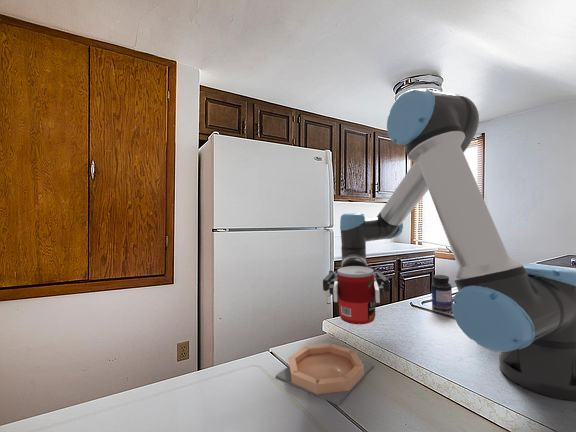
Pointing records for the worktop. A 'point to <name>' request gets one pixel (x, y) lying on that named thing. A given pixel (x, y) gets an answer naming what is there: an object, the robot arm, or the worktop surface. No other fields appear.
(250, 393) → the worktop surface
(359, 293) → the canned food
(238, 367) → the worktop surface
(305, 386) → the bowl
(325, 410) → the worktop surface
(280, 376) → the mat
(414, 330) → the worktop surface
